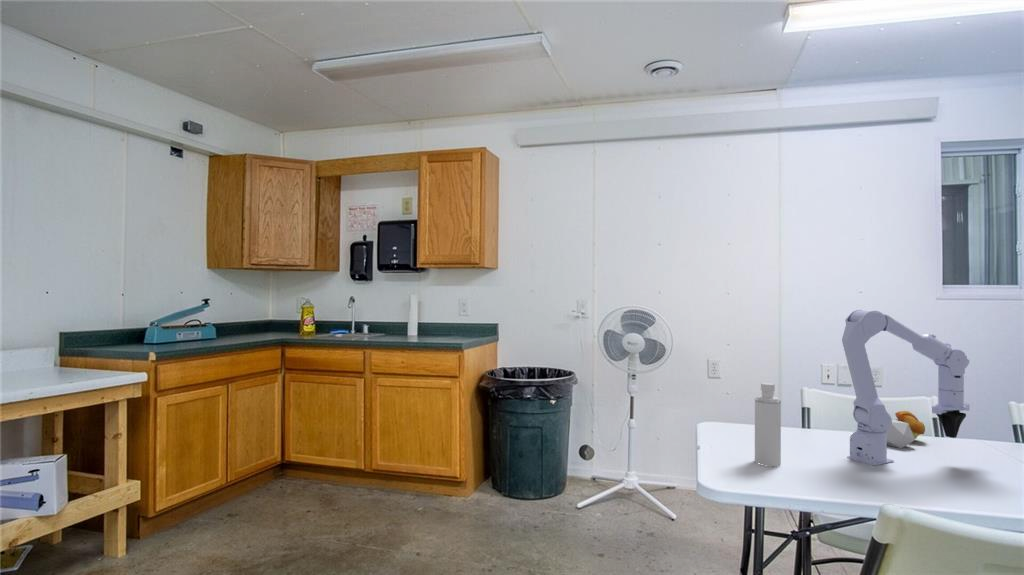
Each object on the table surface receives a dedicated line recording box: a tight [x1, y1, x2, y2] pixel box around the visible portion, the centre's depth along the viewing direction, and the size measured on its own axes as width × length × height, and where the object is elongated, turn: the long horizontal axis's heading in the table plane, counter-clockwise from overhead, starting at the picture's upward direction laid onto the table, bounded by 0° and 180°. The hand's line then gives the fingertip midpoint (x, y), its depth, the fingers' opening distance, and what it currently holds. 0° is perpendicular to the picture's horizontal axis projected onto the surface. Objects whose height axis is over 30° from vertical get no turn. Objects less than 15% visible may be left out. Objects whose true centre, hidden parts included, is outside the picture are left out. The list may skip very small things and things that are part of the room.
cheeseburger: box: [893, 410, 926, 440], centre depth 182 cm, size 10×11×10 cm
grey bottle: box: [754, 382, 782, 467], centre depth 153 cm, size 7×7×25 cm
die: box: [887, 418, 916, 449], centre depth 174 cm, size 8×9×10 cm
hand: (950, 436), depth 156 cm, fingers closed
